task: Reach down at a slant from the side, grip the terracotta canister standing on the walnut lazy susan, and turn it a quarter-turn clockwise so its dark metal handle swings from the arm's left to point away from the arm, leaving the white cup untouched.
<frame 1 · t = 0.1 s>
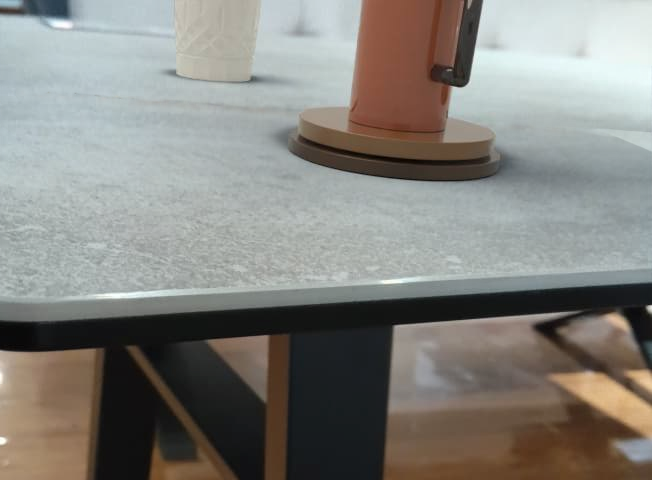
white cup: (213, 84, 81), on the table
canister: (410, 24, 52), point 8 cm above the table, hinge at 0.0°
lazy susan base: (392, 156, 55), on the table
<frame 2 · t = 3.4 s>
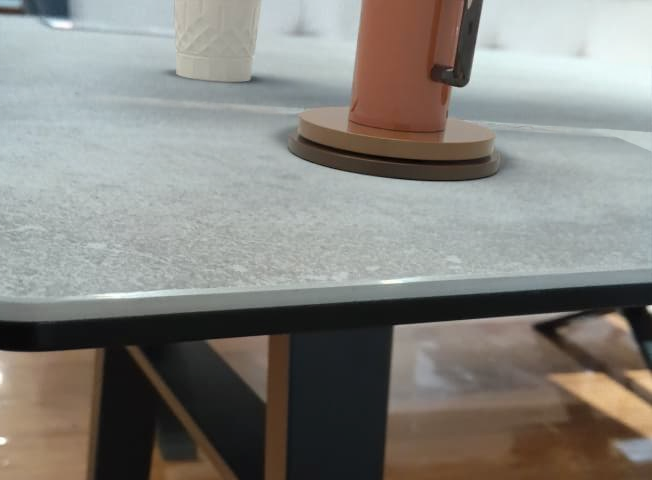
nothing on the table moved.
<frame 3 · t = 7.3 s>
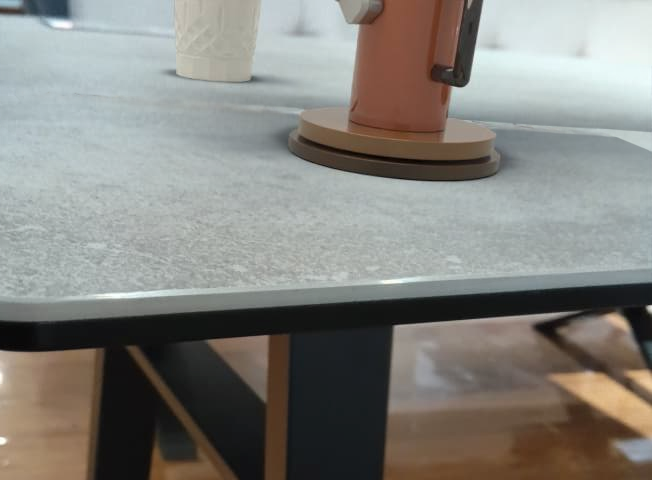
hand: (418, 20, 51), 8 cm above the table, tool tilted 45°, fingers closed on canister, 6 cm apart
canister: (410, 24, 52), point 8 cm above the table, hinge at 0.1°, touching gripper
everything else where it was.
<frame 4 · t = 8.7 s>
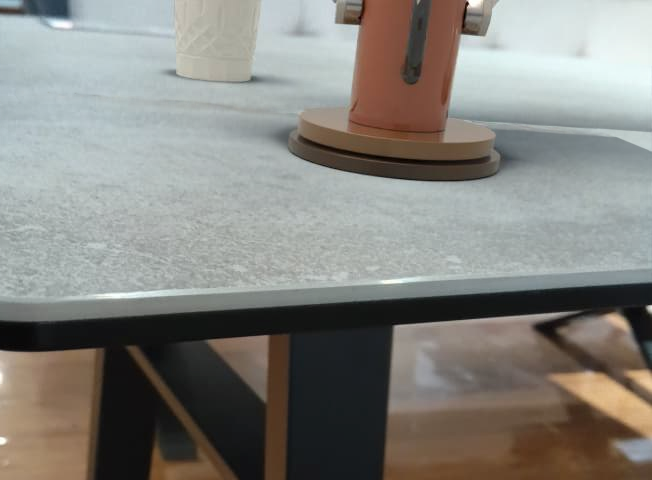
hand: (412, 22, 51), 8 cm above the table, tool tilted 45°, fingers closed on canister, 6 cm apart
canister: (410, 24, 52), point 8 cm above the table, hinge at -34.1°, touching gripper
everything else where it was.
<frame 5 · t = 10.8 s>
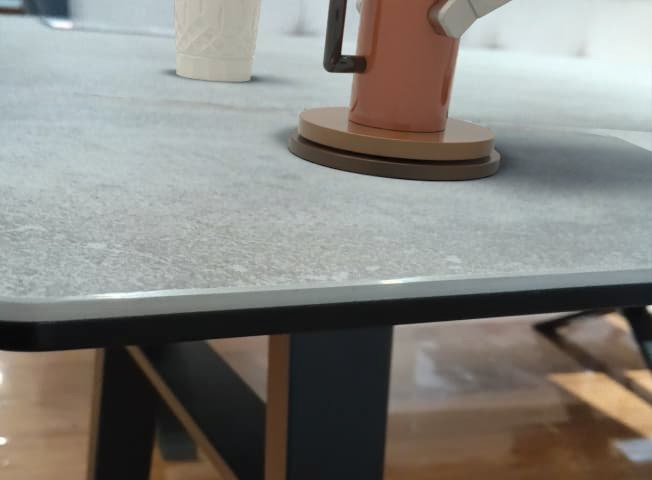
hand: (401, 22, 51), 8 cm above the table, tool tilted 45°, fingers closed on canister, 6 cm apart
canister: (410, 24, 52), point 8 cm above the table, hinge at -95.1°, touching gripper
everything else where it was.
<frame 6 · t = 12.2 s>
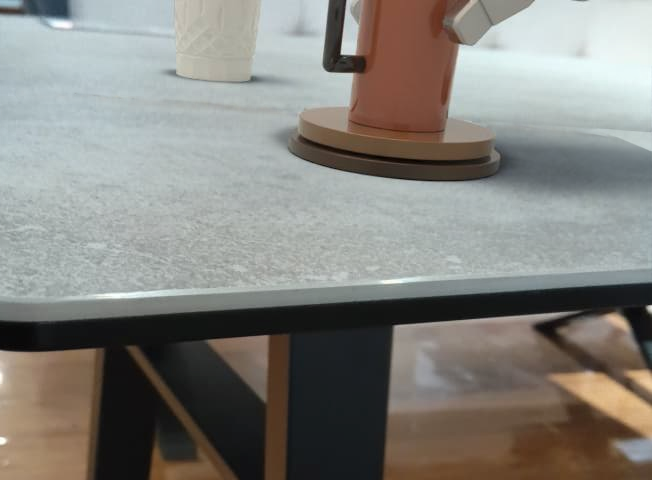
hand: (404, 27, 52), 7 cm above the table, tool tilted 45°, fingers open, 8 cm apart
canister: (410, 24, 52), point 8 cm above the table, hinge at -96.0°
everything else where it was.
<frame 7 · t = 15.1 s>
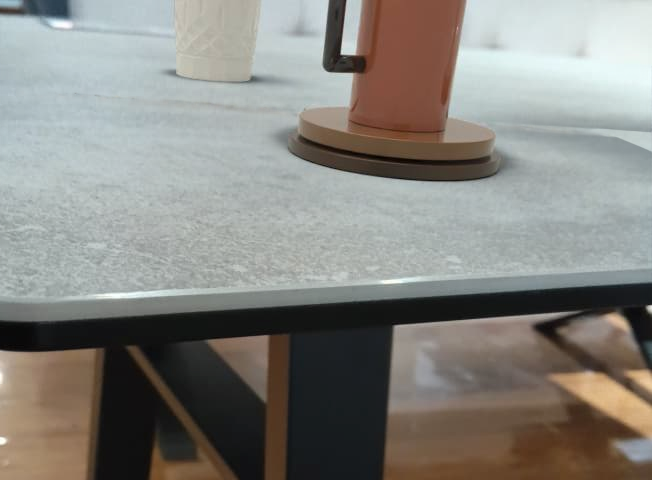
nothing on the table moved.
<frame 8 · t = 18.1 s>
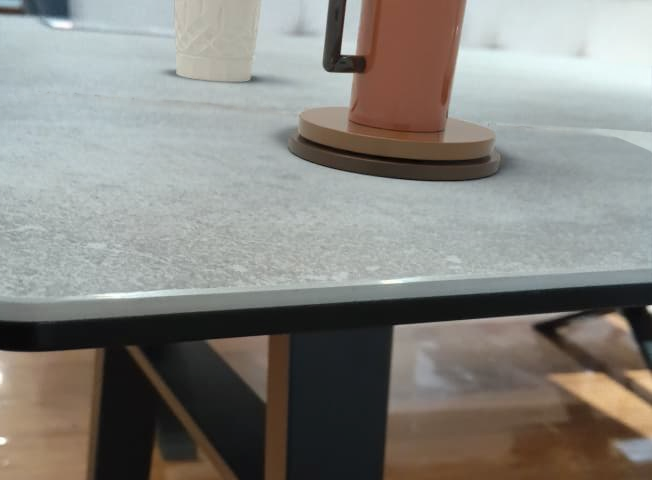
nothing on the table moved.
at the end: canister at -96° (first picture: +0°); white cup moved 0.2 cm from its start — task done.
